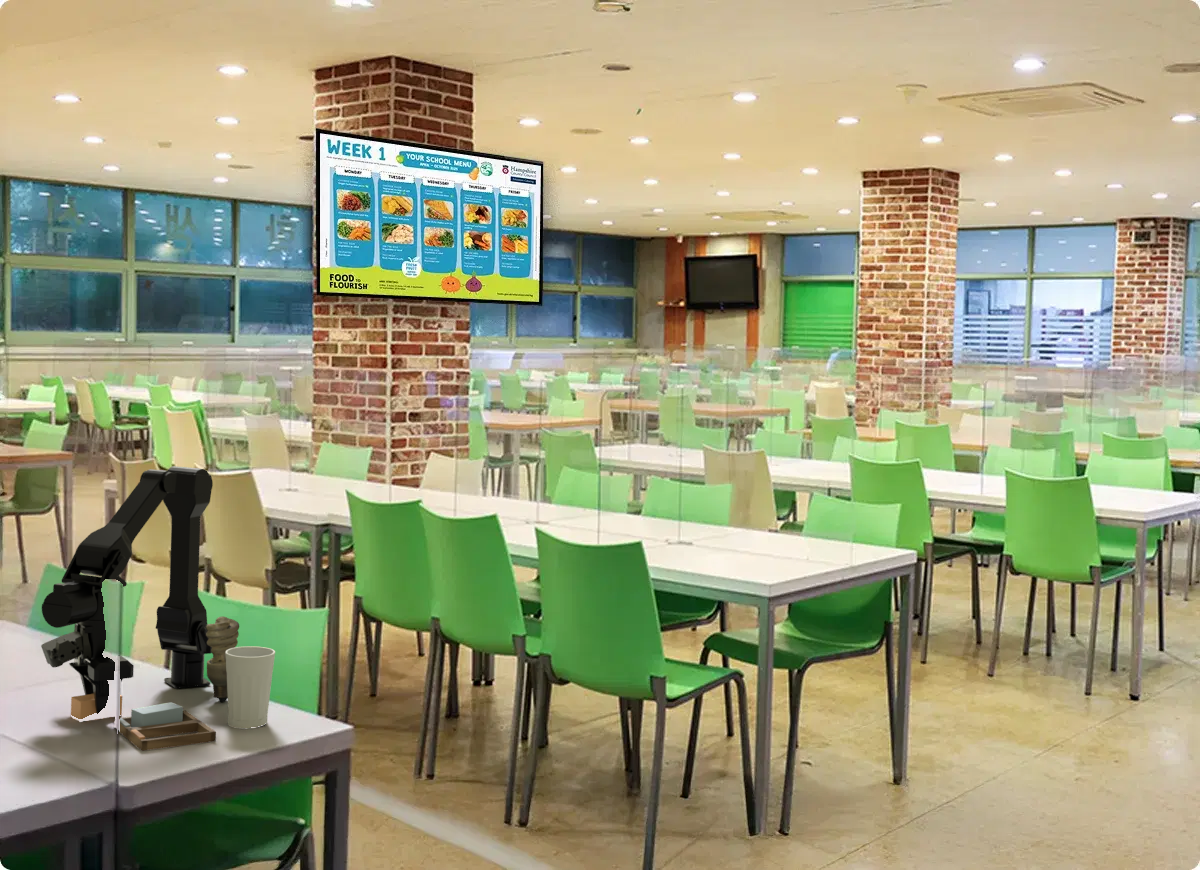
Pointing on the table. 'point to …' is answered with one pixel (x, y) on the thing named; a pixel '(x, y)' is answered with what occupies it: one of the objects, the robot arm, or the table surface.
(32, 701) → the table surface
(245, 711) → the cup
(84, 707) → the terracotta bar
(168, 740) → the divided wooden tray
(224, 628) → the light bulb
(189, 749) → the table surface
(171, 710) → the slate bar
